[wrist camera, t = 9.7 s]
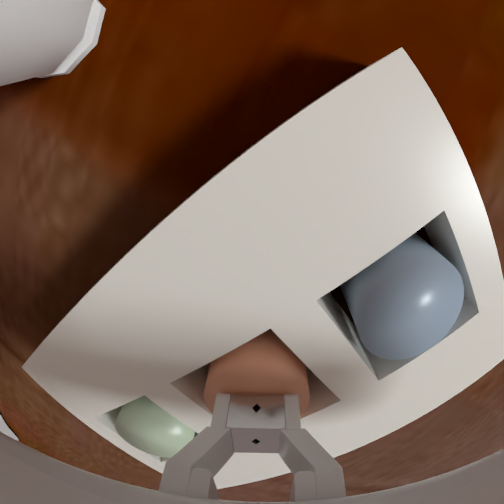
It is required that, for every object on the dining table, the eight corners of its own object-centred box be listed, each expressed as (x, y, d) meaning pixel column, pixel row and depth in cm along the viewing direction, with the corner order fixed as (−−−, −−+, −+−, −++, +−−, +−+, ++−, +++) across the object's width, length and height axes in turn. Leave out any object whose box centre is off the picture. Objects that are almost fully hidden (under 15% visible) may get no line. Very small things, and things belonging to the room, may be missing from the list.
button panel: (204, 458, 18) (199, 491, 15) (47, 336, 14) (21, 367, 12) (485, 318, 12) (512, 351, 10) (368, 65, 9) (401, 47, 6)
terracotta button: (251, 390, 14) (248, 438, 11) (196, 342, 13) (182, 391, 10) (319, 356, 13) (328, 406, 10) (267, 299, 12) (267, 348, 9)
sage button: (169, 423, 16) (158, 462, 13) (119, 386, 15) (101, 424, 12) (215, 406, 15) (208, 450, 12) (162, 362, 14) (144, 407, 11)
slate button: (366, 329, 12) (385, 376, 10) (320, 264, 11) (336, 307, 9) (439, 278, 11) (473, 316, 9) (404, 205, 10) (444, 231, 7)
